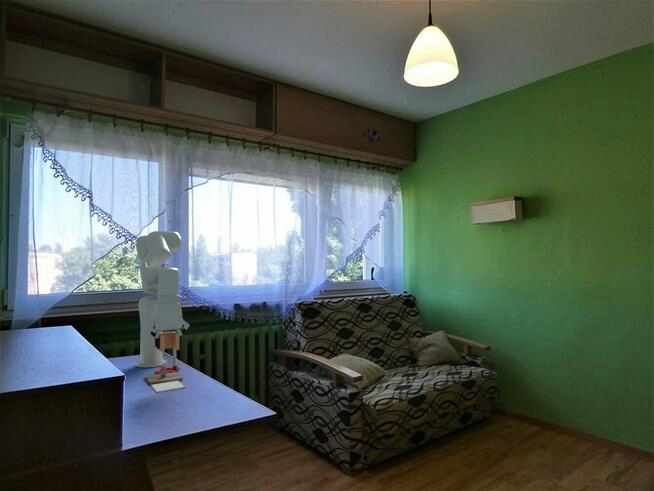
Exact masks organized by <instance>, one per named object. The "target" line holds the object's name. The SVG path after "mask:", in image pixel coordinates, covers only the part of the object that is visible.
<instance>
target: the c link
mask: <svg viewBox="0 0 654 491" xmlns="http://www.w3.org/2000/svg"><path fill="white" fill-rule="evenodd" d="M159 338H160V349H158V350H159V351H160V352H163V353H164V352H165V350H166V349H172V350H173V349H175V350H176V351H179V350H180V347H179V333H177V332H176V330H175V331H174V330H173V331H163V333H160V335H159Z"/></svg>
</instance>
